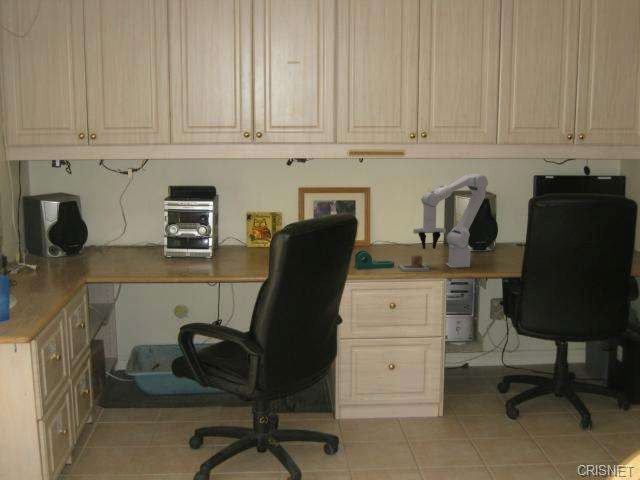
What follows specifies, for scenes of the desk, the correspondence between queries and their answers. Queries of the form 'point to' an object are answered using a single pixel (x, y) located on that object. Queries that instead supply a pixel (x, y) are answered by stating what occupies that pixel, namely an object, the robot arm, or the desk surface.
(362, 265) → the bracket
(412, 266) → the walnut block
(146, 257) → the desk surface
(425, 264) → the green pad
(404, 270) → the slot board
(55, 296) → the desk surface
